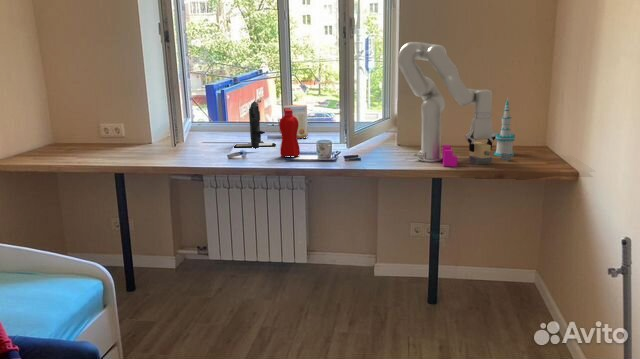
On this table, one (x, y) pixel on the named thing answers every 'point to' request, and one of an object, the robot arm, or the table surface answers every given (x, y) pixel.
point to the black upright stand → (255, 129)
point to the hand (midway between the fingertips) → (480, 150)
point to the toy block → (449, 157)
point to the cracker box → (299, 118)
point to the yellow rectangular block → (481, 150)
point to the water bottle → (289, 134)
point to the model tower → (505, 135)
